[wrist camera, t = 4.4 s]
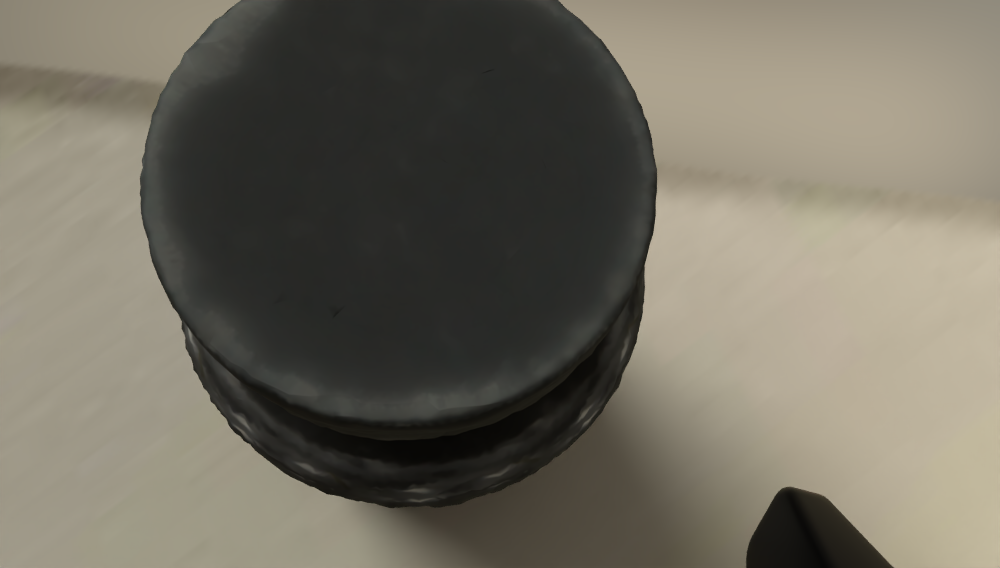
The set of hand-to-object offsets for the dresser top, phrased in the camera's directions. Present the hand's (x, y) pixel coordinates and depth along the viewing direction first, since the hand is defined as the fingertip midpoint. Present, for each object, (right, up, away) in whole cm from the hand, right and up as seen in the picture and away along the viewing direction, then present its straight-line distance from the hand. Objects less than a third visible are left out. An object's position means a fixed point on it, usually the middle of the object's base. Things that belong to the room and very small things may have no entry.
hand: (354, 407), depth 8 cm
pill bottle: (0, -1, +10) cm, 10 cm away
